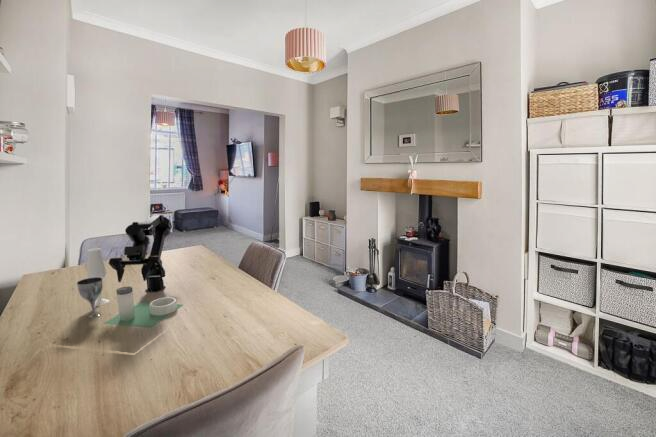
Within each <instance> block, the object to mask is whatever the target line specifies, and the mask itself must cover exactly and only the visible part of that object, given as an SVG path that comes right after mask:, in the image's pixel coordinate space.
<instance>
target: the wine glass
mask: <svg viewBox="0 0 656 437" xmlns="http://www.w3.org/2000/svg"><path fill="white" fill-rule="evenodd" d="M76 284H77V285H76V286H77V290H78V293H79V295H80V297H81V298H82V299H84V300H85V301H87V302H88V303H89V304H90V306H91V311H92V314H90V315H89V316H88V318H89V319H90V318H91V319H93V318H96V317H99V316H100V315H101V314H100V313H96V310H95V307H96V306H95V301H96V300H98V297H99V296H100V294H101V295H102V291H103V288H104V287H103V284H104V282H103V279H102V278H100V277H93V278H88V277H87V278H84V279H80V280H79V281H77V282H76Z"/></svg>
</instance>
